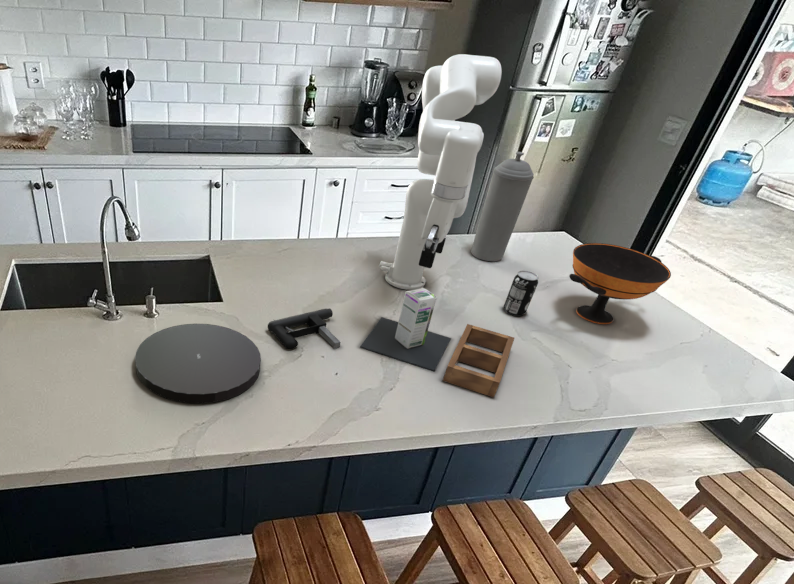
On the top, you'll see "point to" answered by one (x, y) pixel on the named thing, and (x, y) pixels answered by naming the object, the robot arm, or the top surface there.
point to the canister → (502, 208)
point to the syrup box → (415, 317)
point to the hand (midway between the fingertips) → (430, 259)
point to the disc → (197, 363)
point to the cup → (614, 276)
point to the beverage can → (521, 293)
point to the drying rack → (479, 360)
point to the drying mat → (387, 345)
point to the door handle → (315, 326)
